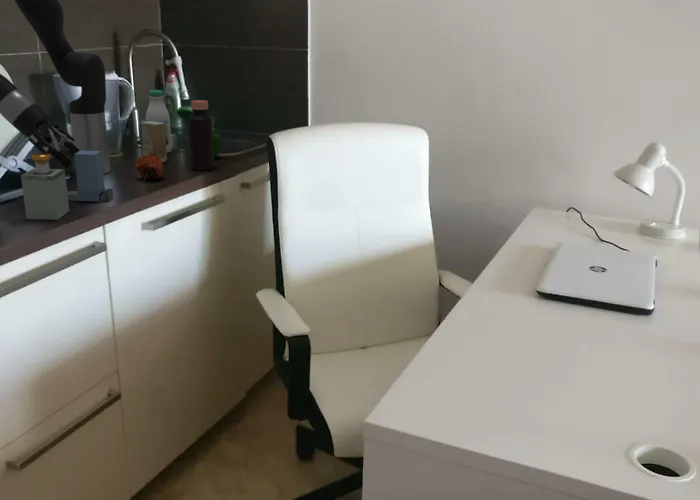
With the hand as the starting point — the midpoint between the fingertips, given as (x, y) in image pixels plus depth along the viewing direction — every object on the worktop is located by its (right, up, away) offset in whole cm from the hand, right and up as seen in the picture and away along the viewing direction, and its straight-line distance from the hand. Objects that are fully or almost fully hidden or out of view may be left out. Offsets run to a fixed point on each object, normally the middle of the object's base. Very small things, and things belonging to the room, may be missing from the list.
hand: (76, 161), depth 167 cm
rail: (-3, -9, +3) cm, 10 cm away
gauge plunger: (-2, -7, -12) cm, 14 cm away
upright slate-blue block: (+3, -9, +3) cm, 10 cm away
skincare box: (+6, +6, +46) cm, 47 cm away
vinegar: (+22, +3, +39) cm, 45 cm away
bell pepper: (+21, +8, +53) cm, 58 cm away
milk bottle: (+4, +11, +60) cm, 61 cm away
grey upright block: (-2, -14, -10) cm, 17 cm away
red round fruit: (+11, -2, +25) cm, 27 cm away
